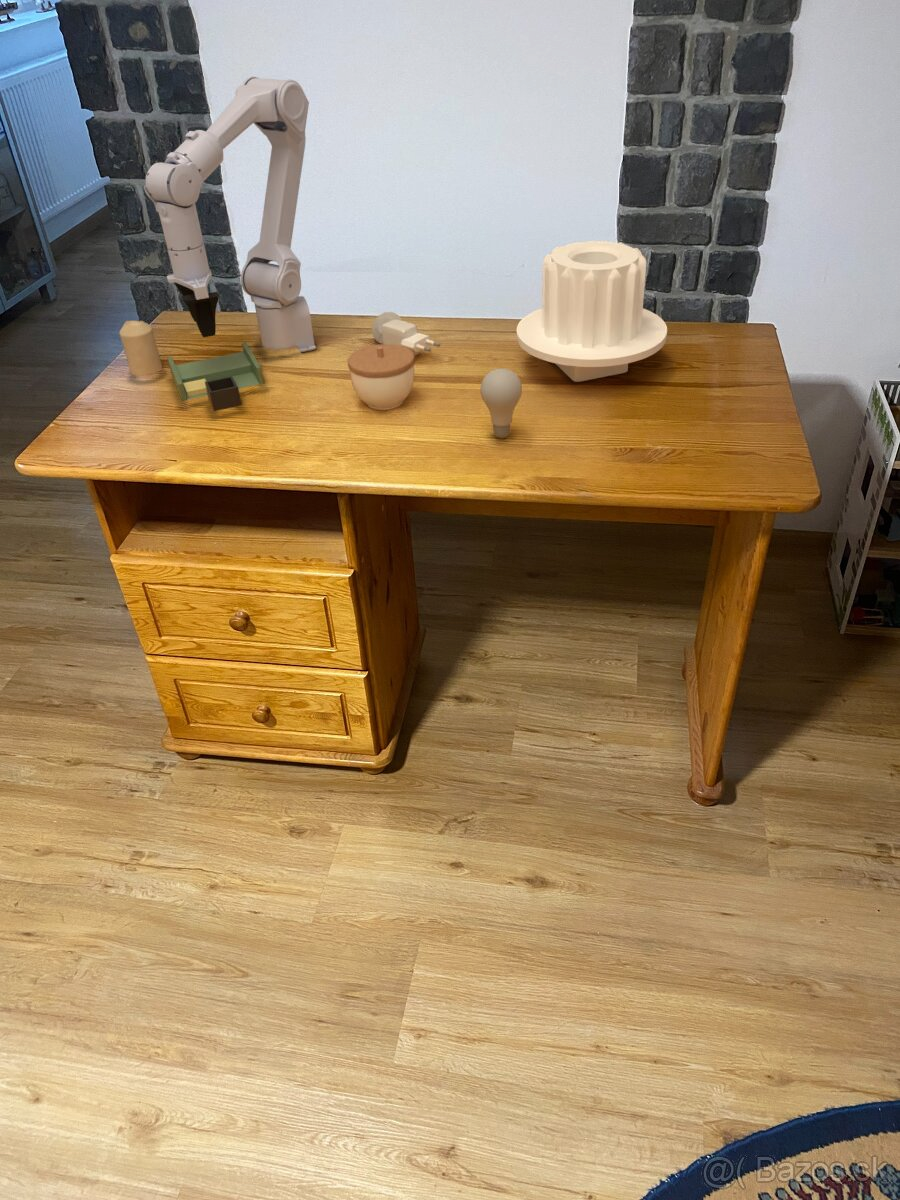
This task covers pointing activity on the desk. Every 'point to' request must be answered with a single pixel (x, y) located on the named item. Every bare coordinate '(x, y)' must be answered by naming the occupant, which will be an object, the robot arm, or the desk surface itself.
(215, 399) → the holder
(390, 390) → the trinket box
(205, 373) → the shelf
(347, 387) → the desk surface
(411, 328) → the power adapter
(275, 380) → the desk surface
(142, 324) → the candle
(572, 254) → the flanged gear
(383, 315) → the grey rounded piece
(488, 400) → the lightbulb
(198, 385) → the note pad
